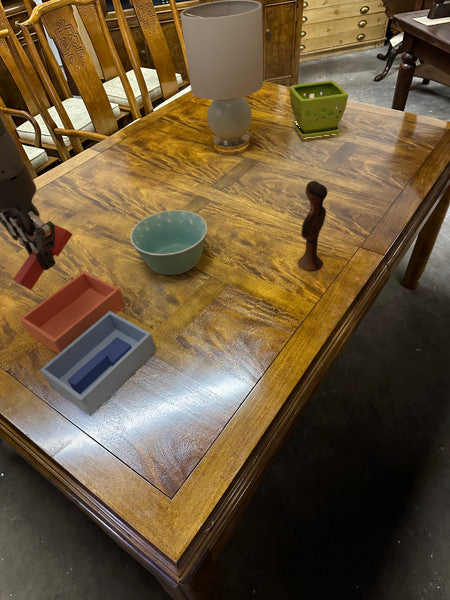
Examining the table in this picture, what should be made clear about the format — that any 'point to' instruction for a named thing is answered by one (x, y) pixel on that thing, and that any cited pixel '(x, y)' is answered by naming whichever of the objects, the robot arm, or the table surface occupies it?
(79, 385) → the blue bar
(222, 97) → the lamp
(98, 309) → the red bin
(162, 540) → the table surface
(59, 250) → the red stepped block
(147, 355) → the blue bin
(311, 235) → the figurine
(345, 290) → the table surface
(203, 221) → the bowl
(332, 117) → the flower pot
